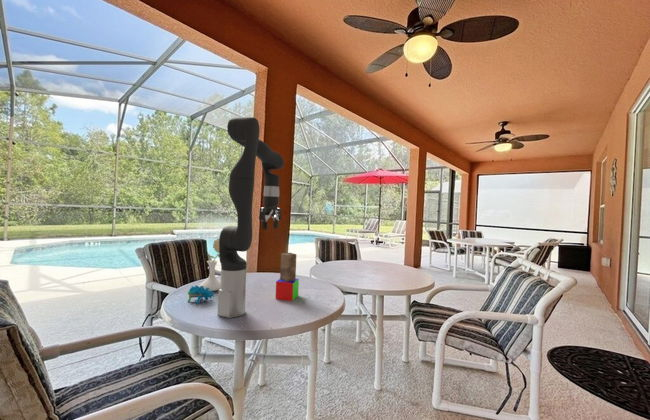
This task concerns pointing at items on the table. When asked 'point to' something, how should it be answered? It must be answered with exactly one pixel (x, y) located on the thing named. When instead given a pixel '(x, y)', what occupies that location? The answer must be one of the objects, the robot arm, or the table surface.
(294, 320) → the table surface
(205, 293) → the blue toy dinosaur
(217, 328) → the table surface
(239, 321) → the table surface
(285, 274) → the pillar
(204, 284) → the flower in vase
